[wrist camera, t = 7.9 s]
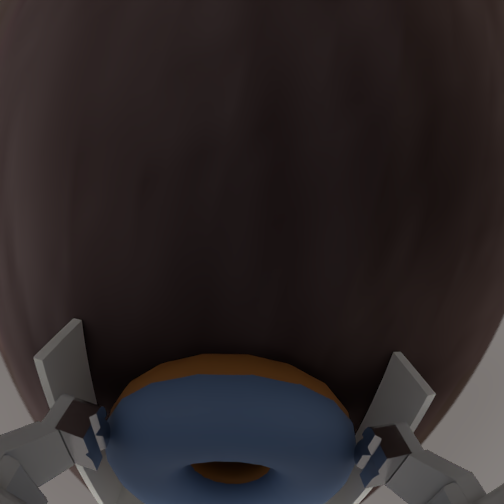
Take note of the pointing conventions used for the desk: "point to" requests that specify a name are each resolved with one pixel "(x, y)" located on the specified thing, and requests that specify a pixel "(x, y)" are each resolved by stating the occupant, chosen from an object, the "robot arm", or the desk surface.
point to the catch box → (121, 500)
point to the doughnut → (230, 434)
